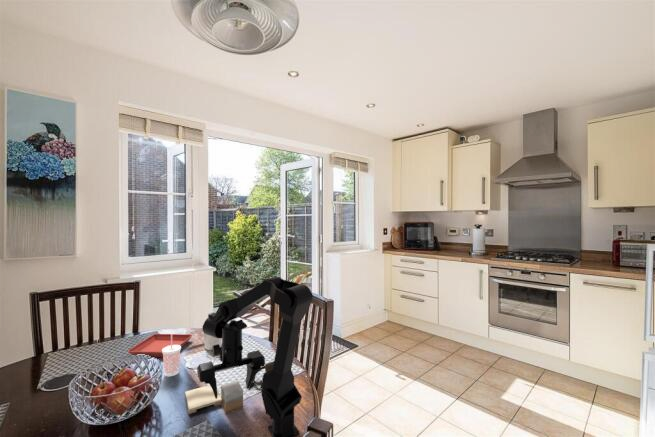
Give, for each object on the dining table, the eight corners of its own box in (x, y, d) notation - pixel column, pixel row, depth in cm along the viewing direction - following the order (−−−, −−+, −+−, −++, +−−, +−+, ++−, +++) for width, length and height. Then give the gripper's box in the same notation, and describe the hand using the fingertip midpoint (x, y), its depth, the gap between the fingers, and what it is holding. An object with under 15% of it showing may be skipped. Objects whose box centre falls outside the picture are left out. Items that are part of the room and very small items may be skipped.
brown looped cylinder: (279, 377, 97) (288, 356, 106) (241, 369, 99) (254, 350, 109) (278, 395, 99) (288, 373, 108) (242, 388, 101) (254, 367, 110)
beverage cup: (158, 377, 106) (158, 338, 106) (167, 368, 112) (167, 331, 112) (176, 377, 106) (176, 337, 106) (184, 368, 112) (184, 331, 112)
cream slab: (221, 404, 91) (221, 399, 91) (189, 414, 86) (189, 409, 86) (215, 388, 100) (215, 383, 100) (185, 396, 95) (185, 391, 95)
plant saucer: (154, 340, 138) (154, 333, 138) (193, 341, 137) (193, 333, 137) (126, 359, 120) (126, 351, 120) (171, 360, 119) (171, 352, 119)
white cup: (202, 344, 133) (202, 322, 132) (221, 341, 136) (221, 319, 136) (203, 352, 125) (203, 328, 125) (223, 348, 129) (223, 325, 129)
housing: (243, 408, 89) (243, 390, 89) (225, 414, 87) (225, 395, 87) (237, 398, 95) (237, 380, 94) (221, 403, 92) (221, 385, 92)
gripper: (254, 326, 102) (254, 372, 102) (194, 338, 92) (194, 389, 93) (265, 338, 93) (265, 389, 93) (200, 352, 83) (200, 409, 83)
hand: (232, 393), depth 91 cm, fingers open, 9 cm apart
